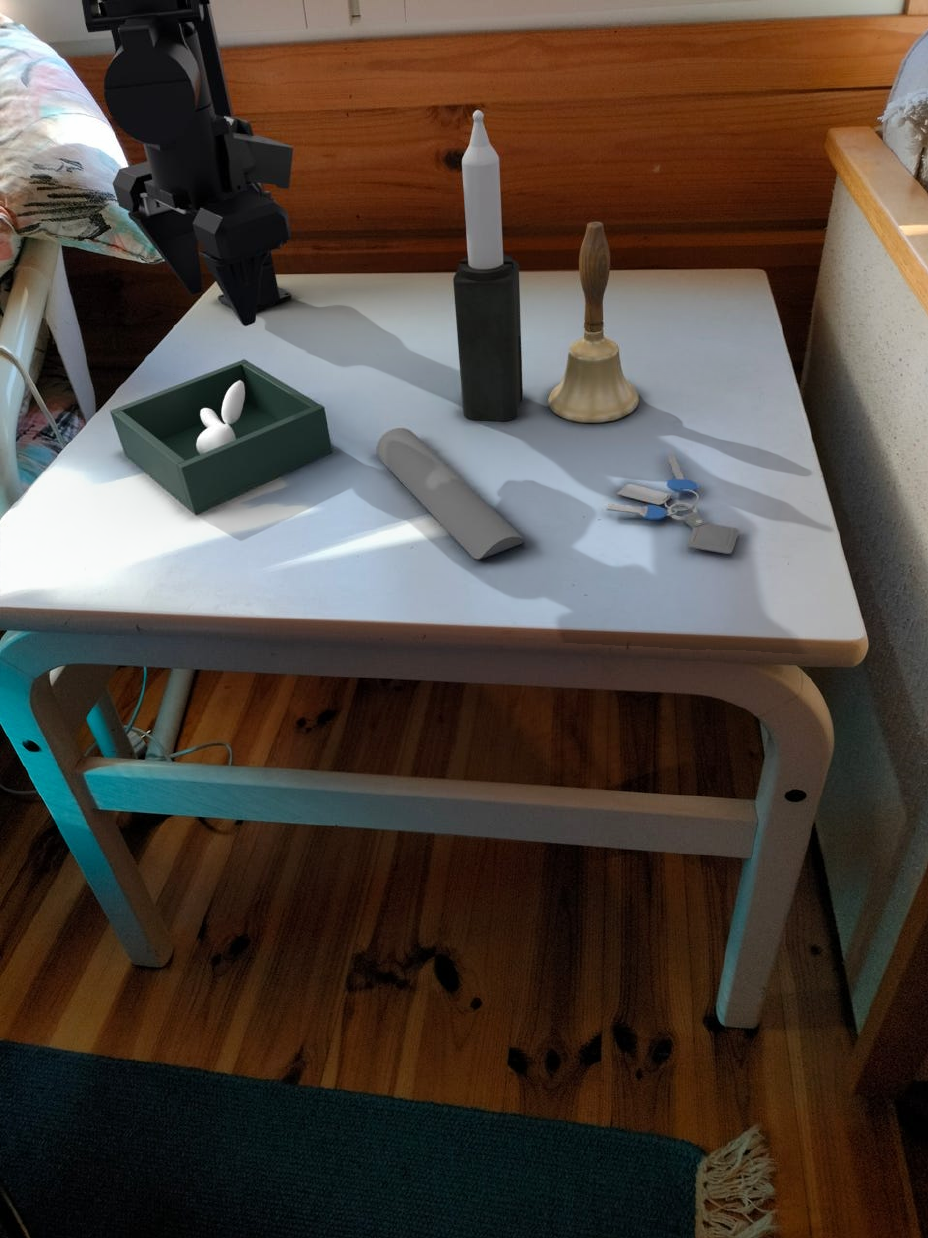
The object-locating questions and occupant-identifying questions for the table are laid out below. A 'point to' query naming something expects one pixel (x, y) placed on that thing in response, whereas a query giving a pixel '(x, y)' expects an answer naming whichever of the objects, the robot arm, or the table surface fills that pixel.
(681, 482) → the key chain
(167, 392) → the bin
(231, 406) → the rabbit figurine
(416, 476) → the half round rod
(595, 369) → the hand bell
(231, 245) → the robot arm
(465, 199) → the candle
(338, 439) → the table surface
